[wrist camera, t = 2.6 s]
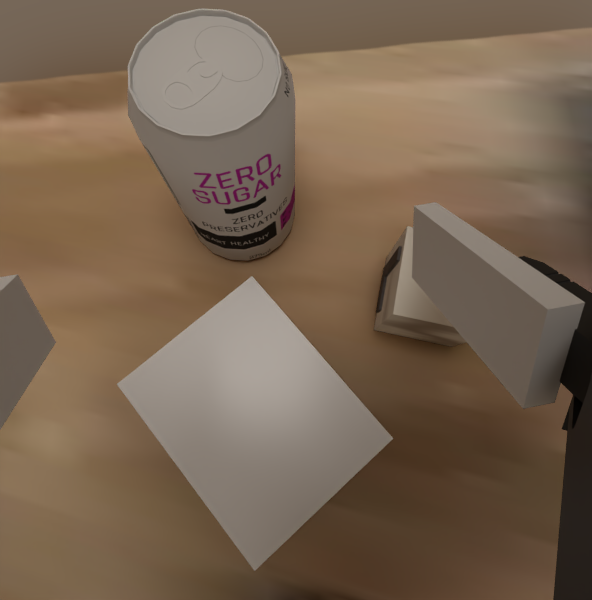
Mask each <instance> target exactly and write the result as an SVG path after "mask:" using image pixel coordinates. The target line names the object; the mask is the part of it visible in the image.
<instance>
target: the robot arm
mask: <svg viewBox="0 0 592 600" xmlns="http://www.w3.org/2000/svg"><path fill="white" fill-rule="evenodd" d="M412 278H413V279H414V280H415V282H416V283H417V284H418V285H419V286H420V288H421V289H422V290H423V291H424V292H425V293H426V295H427V296H428V297H429V298H430V299H431V301H432V302H433V303H434V304H435V305H436V306H437V308H438V309H439V310H440V311H441V312H442V314H443V315H444V316H445V317H446V318H447V319H448V321H449V322H450V323H451V324H452V325H453V327H454V328H455V329H456V330H457V331H458V332H459V334H460V335H461V336H462V337H463V338H464V340H465V341H466V342H467V343H468V344H469V345H470V347H471V348H472V349H473V350H474V351H475V353H476V354H477V355H478V356H479V357H480V358H481V360H482V361H483V362H484V363H485V364H486V365H487V367H488V368H489V369H490V370H491V371H492V373H493V374H494V375H495V376H496V377H497V378H498V380H499V381H500V382H501V383H502V384H503V386H504V387H505V388H506V389H507V390H508V391H509V393H510V394H511V395H512V396H513V397H514V399H515V400H516V401H517V402H518V403H519V404H520V406H521V407H522V408H523V409H525V408H530V407H535V406H540V405H545V404H549V403H554V402H555V400H556V396H557V393H558V390H559V387H560V383H562V384H563V385H564V386H565V387H566V388H567V389H568V390H569V391H570V392H571V393H572V394H573V397H572V400H571V403H570V406H569V409H568V412H567V415H566V418H565V421H564V424H563V427H562V429H563V430H566V431H567V443H566V455H565V467H564V479H563V491H562V503H561V515H560V527H559V539H558V551H557V563H556V575H555V587H554V599H553V600H592V293H590V292H589V291H587V290H586V289H584V288H583V287H581V286H579V285H578V284H576V283H575V282H570V279H568V278H567V277H565V276H564V275H562V274H558V272H557V271H556V270H554V269H553V268H551V267H549V266H548V265H546V264H545V263H543V262H540V261H537V260H534V259H531V258H528V257H525V256H523V257H517V256H515V255H514V254H512V253H511V252H509V251H508V250H506V249H505V248H503V247H502V246H500V245H499V244H497V243H496V242H494V241H493V240H491V239H490V238H488V237H487V236H485V235H484V234H482V233H481V232H479V231H478V230H476V229H475V228H474V227H472V226H471V225H469V224H468V223H466V222H465V221H463V220H462V219H460V218H459V217H457V216H456V215H454V214H453V213H451V212H450V211H448V210H447V209H445V208H444V207H442V206H441V205H439V204H438V203H436V202H434V203H429V204H423V205H417V206H414V224H413V257H412ZM55 343H56V342H55V340H54V338H53V336H52V334H51V333H50V331H49V329H48V327H47V326H46V324H45V322H44V320H43V318H42V317H41V315H40V313H39V311H38V310H37V308H36V306H35V304H34V302H33V301H32V299H31V297H30V295H29V294H28V292H27V290H26V288H25V286H24V285H23V283H22V281H21V279H20V278H19V276H18V274H17V275H11V276H6V277H0V429H1V428H2V426H3V424H4V423H5V421H6V420H7V418H8V417H9V415H10V413H11V412H12V410H13V409H14V407H15V406H16V404H17V403H18V401H19V399H20V398H21V396H22V395H23V393H24V392H25V390H26V388H27V387H28V385H29V384H30V382H31V381H32V379H33V377H34V376H35V374H36V373H37V371H38V370H39V368H40V366H41V365H42V363H43V362H44V360H45V359H46V357H47V355H48V354H49V352H50V351H51V349H52V348H53V346H54V344H55Z"/></svg>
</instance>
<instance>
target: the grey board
mask: <svg viewBox="0 0 592 600" xmlns="http://www.w3.org/2000/svg"><path fill="white" fill-rule="evenodd" d="M117 385H118V386H119V388H120V389H121V391H122V392H123V393H124V395H125V396H126V397H127V399H128V400H129V401H130V403H131V404H132V405H133V407H134V408H135V410H136V411H137V412H138V414H139V415H140V416H141V418H142V419H143V420H144V422H145V423H146V424H147V426H148V427H149V429H150V430H151V431H152V433H153V434H154V435H155V437H156V438H157V439H158V441H159V442H160V443H161V445H162V446H163V448H164V449H165V450H166V452H167V453H168V454H169V456H170V457H171V458H172V460H173V461H174V462H175V464H176V465H177V467H178V468H179V469H180V471H181V472H182V473H183V475H184V476H185V477H186V479H187V480H188V481H189V483H190V484H191V486H192V487H193V488H194V490H195V491H196V492H197V494H198V495H199V496H200V498H201V499H202V500H203V502H204V503H205V505H206V506H207V507H208V509H209V510H210V511H211V513H212V514H213V515H214V517H215V518H216V519H217V521H218V522H219V523H220V525H221V526H222V528H223V529H224V530H225V532H226V533H227V534H228V536H229V537H230V538H231V540H232V541H233V542H234V544H235V545H236V547H237V548H238V549H239V551H240V552H241V553H242V555H243V556H244V557H245V559H246V560H247V561H248V563H249V564H250V566H251V567H252V568H253V570H254V571H255V570H256V569H257V568H258V567H259V566H261V565H262V564H263V563H264V562H265V561H266V560H267V559H268V558H269V557H270V556H271V555H272V554H273V553H274V552H275V551H276V550H277V549H278V548H279V547H280V546H281V545H282V544H284V543H285V542H286V541H287V540H288V539H289V538H290V537H291V536H292V535H293V534H294V533H295V532H296V531H297V530H298V529H299V528H300V527H301V526H302V525H303V524H304V523H305V522H307V521H308V520H309V519H310V518H311V517H312V516H313V515H314V514H315V513H316V512H317V511H318V510H319V509H320V508H321V507H322V506H323V505H324V504H325V503H326V502H327V501H328V500H330V499H331V498H332V497H333V496H334V495H335V494H336V493H337V492H338V491H339V490H340V489H341V488H342V487H343V486H344V485H345V484H346V483H347V482H348V481H349V480H350V479H351V478H353V477H354V476H355V475H356V474H357V473H358V472H359V471H360V470H361V469H362V468H363V467H364V466H365V465H366V464H367V463H368V462H369V461H370V460H371V459H372V458H373V457H374V456H376V455H377V454H378V453H379V452H380V451H381V450H382V449H383V448H384V447H385V446H386V445H387V444H388V443H389V442H390V441H391V440H392V439H393V438H392V436H391V435H390V434H389V433H388V432H387V431H386V430H385V428H384V427H383V426H382V425H381V424H380V423H379V422H378V420H377V419H376V418H375V417H374V416H373V415H372V413H371V412H370V411H369V410H368V409H367V408H366V407H365V405H364V404H363V403H362V402H361V401H360V400H359V399H358V397H357V396H356V395H355V394H354V393H353V392H352V390H351V389H350V388H349V387H348V386H347V385H346V384H345V382H344V381H343V380H342V379H341V378H340V377H339V376H338V374H337V373H336V372H335V371H334V370H333V369H332V367H331V366H330V365H329V364H328V363H327V362H326V361H325V359H324V358H323V357H322V356H321V355H320V354H319V353H318V351H317V350H316V349H315V348H314V347H313V346H312V344H311V343H310V342H309V341H308V340H307V339H306V338H305V336H304V335H303V334H302V333H301V332H300V331H299V329H298V328H297V327H296V326H295V325H294V324H293V323H292V321H291V320H290V319H289V318H288V317H287V316H286V315H285V313H284V312H283V311H282V310H281V309H280V308H279V306H278V305H277V304H276V303H275V302H274V301H273V300H272V298H271V297H270V296H269V295H268V294H267V293H266V292H265V290H264V289H263V288H262V287H261V286H260V285H259V283H258V282H257V281H256V280H255V279H254V278H253V277H252V276H251V277H250V278H249V279H248V280H246V281H245V282H244V283H243V284H241V285H240V286H239V287H238V288H236V289H235V290H234V291H233V292H231V293H230V294H229V295H228V296H226V297H225V298H224V299H223V300H221V301H220V302H219V303H218V304H216V305H215V306H214V307H213V308H211V309H210V310H209V311H208V312H206V313H205V314H204V315H203V316H201V317H200V318H199V319H198V320H196V321H195V322H194V323H193V324H191V325H190V326H189V327H188V328H186V329H185V330H184V331H183V332H181V333H180V334H179V335H178V336H176V337H175V338H174V339H173V340H171V341H170V342H169V343H168V344H166V345H165V346H164V347H163V348H161V349H160V350H159V351H158V352H157V353H155V354H154V355H153V356H152V357H150V358H149V359H148V360H147V361H145V362H144V363H143V364H142V365H140V366H139V367H138V368H137V369H135V370H134V371H133V372H132V373H130V374H129V375H128V376H127V377H125V378H124V379H123V380H122V381H120V382H119V383H118V384H117Z"/></svg>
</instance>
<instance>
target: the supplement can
mask: <svg viewBox="0 0 592 600" xmlns="http://www.w3.org/2000/svg"><path fill="white" fill-rule="evenodd" d="M128 116H129V118H130V120H131V122H132V124H133V126H134V128H135V130H136V133H137V135H138V137H139V139H140V140H141V142H142V144H143V145H144V147H145V149H146V151H147V152H148V154H149V156H150V157H151V159H152V161H153V162H154V164H155V166H156V167H157V169H158V171H159V172H160V174H161V176H162V177H163V179H164V181H165V182H166V184H167V186H168V187H169V189H170V191H171V192H172V194H173V196H174V198H175V199H176V201H177V203H178V204H179V206H180V208H181V209H182V211H183V213H184V214H185V216H186V218H187V219H188V221H189V223H190V224H191V226H192V228H193V229H194V231H195V233H196V234H197V236H198V238H199V240H200V241H201V242H202V243H203V244H204V245H205V246H206V247H207V248H208V249H210V250H211V251H212V252H213V253H215V254H217V255H220V256H222V257H225V258H227V259H229V260H246V261H248V260H252V259H255V258H259V257H262V256H266V255H267V254H269V253H270V252H272V251H273V250H274V249H276V248H277V247H279V246H280V245H281V244H282V242H283V241H284V240H285V238H286V237H287V235H288V234H289V232H290V231H291V227H292V223H293V219H294V215H295V93H294V86H293V79H292V74H291V72H290V71H289V69H288V67H287V66H286V64H285V62H284V61H283V59H282V57H281V56H280V54H279V51H278V50H277V48H276V47H275V45H274V43H273V41H272V40H271V38H270V36H269V35H268V33H267V32H266V31H265V30H263V29H262V28H261V27H259V26H258V25H257V24H256V23H254V22H253V21H252V20H250V19H249V18H247V17H244V16H241V15H238V14H235V13H232V12H230V11H227V10H218V9H196V10H192V11H187V12H183V13H179V14H175V15H173V16H171V17H169V18H167V19H166V20H164V21H162V22H160V23H159V24H157V25H155V26H153V27H152V28H151V29H150V30H149V31H148V33H146V35H145V36H144V37H143V38H142V39H141V40H140V41H139V42H138V43H137V44H136V47H135V49H134V52H133V54H132V57H131V59H130V62H129V64H128Z"/></svg>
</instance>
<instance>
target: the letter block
mask: <svg viewBox="0 0 592 600" xmlns="http://www.w3.org/2000/svg"><path fill="white" fill-rule="evenodd" d="M412 257H413V227H408V226H407V228H406V229H405V231H404V232H403V234H402V235H401V237H400V238H399V240H398V241H397V243H396V244H395V246H394V247H393V249H392V250H391V252H390V253H389V255H388V256H387V258H386V263H385V267H384V269H383V275H382V281H381V287H380V292H379V298H378V304H377V310H376V312H377V315H376V321H375V326H374V330H376V331H381V332H385V333H390V334H395V335H399V336H404V337H409V338H413V339H418V340H423V341H427V342H432V343H437V344H441V345H446V346H450V347H453V346H456V345H459V344H462V343H465V342H466V341H465V340H464V338H463V337H462V336H461V335H460V334H459V332H458V331H457V330H456V329H455V328H454V327H453V325H452V324H451V323H450V322H449V321H448V319H447V318H446V317H445V316H444V315H443V314H442V312H441V311H440V310H439V309H438V308H437V306H436V305H435V304H434V303H433V302H432V301H431V299H430V298H429V297H428V296H427V295H426V293H425V292H424V291H423V290H422V289H421V288H420V286H419V285H418V284H417V283H416V282H415V280H414V279H413V278H412Z"/></svg>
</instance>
